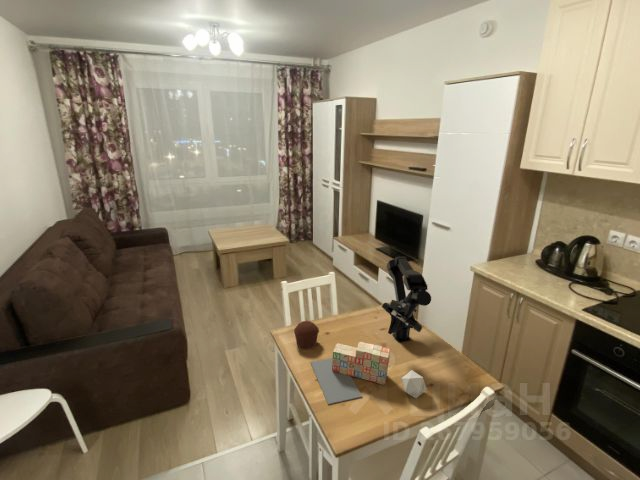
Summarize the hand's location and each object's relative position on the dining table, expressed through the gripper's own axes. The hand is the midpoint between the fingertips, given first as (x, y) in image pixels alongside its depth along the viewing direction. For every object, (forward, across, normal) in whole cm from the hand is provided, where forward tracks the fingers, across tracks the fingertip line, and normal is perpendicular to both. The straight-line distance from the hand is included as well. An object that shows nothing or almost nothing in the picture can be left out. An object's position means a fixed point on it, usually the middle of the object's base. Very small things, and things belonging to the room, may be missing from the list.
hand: (389, 333), depth 138 cm
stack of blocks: (+20, 0, -1) cm, 20 cm away
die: (+13, +18, +7) cm, 23 cm away
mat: (+27, -3, -8) cm, 28 cm away
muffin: (+26, -29, -6) cm, 39 cm away
